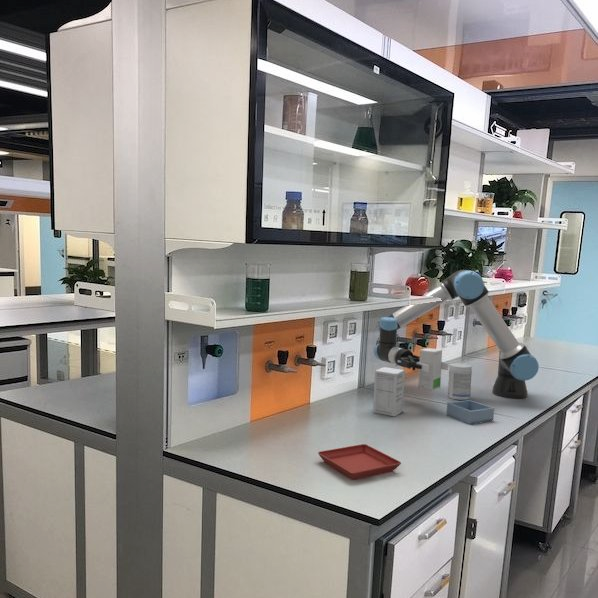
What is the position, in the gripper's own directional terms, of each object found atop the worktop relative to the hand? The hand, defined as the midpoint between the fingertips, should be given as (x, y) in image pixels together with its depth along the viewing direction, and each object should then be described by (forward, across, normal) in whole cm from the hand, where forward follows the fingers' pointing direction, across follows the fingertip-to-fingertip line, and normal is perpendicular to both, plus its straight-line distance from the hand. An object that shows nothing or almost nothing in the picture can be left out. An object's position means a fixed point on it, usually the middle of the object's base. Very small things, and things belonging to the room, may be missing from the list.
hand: (438, 367), depth 228 cm
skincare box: (-4, 0, -9) cm, 10 cm away
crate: (+10, -8, -18) cm, 23 cm away
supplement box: (-9, +17, -18) cm, 26 cm away
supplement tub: (-15, -27, -19) cm, 36 cm away
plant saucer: (+33, +61, -19) cm, 72 cm away
